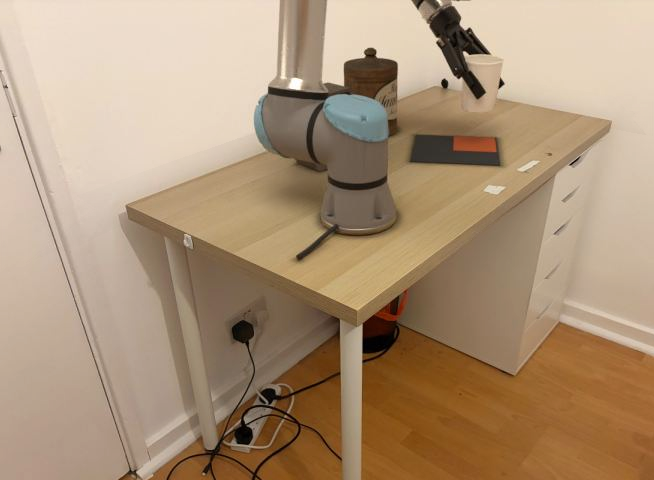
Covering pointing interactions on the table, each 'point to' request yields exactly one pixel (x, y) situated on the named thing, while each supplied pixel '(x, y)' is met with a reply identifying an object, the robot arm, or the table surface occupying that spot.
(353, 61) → the wooden container
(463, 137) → the desk mat
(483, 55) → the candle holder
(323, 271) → the table surface
